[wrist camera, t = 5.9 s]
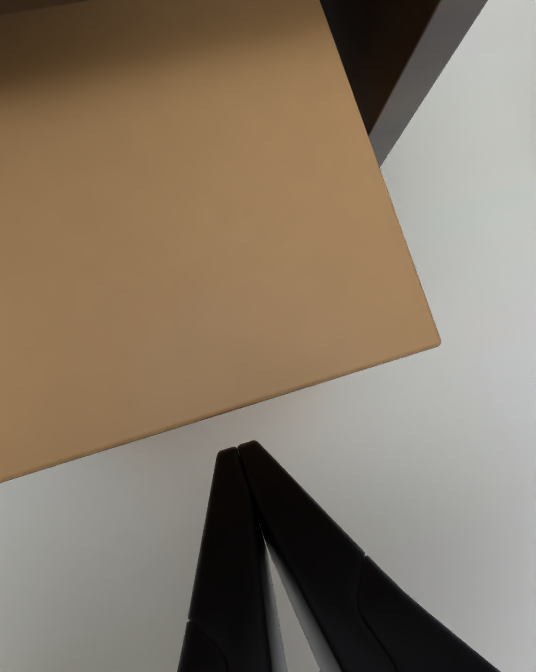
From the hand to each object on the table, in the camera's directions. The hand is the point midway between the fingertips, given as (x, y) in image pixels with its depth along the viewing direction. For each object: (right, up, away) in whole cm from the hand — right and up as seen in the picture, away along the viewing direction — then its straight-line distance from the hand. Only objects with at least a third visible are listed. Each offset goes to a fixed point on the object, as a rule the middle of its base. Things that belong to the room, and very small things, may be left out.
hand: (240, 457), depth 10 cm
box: (-2, +5, +7) cm, 9 cm away
